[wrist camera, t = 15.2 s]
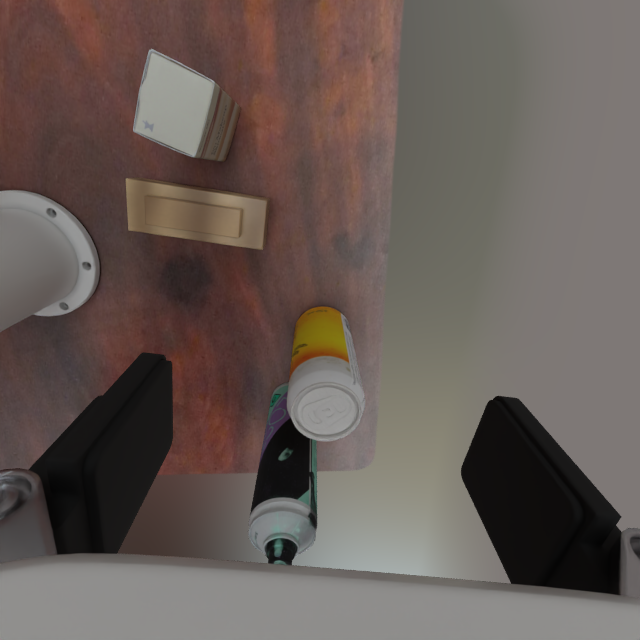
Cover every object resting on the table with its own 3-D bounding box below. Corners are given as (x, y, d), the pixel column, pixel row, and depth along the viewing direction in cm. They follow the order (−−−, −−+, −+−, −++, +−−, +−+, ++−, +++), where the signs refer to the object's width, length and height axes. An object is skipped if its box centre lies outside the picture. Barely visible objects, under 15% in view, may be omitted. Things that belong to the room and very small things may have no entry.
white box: (226, 163, 34) (193, 163, 25) (180, 142, 33) (128, 134, 24) (244, 104, 32) (216, 80, 23) (196, 80, 31) (146, 46, 22)
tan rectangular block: (146, 224, 36) (121, 232, 31) (144, 176, 34) (118, 178, 30) (267, 242, 37) (260, 253, 32) (271, 196, 35) (265, 201, 30)
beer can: (284, 320, 40) (269, 402, 26) (332, 294, 39) (342, 364, 25) (312, 361, 42) (312, 456, 29) (358, 337, 41) (381, 424, 27)
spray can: (294, 373, 43) (280, 530, 25) (325, 401, 45) (333, 568, 26) (262, 398, 44) (225, 565, 26) (292, 425, 46) (278, 599, 28)
